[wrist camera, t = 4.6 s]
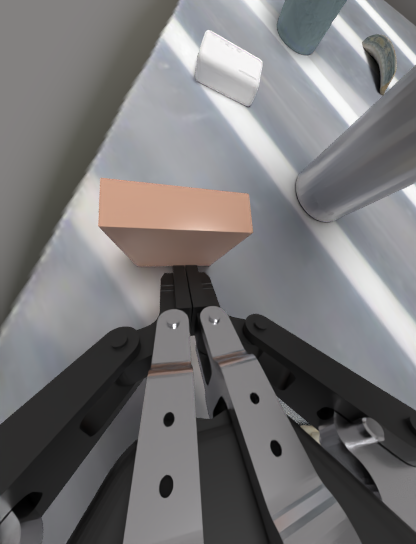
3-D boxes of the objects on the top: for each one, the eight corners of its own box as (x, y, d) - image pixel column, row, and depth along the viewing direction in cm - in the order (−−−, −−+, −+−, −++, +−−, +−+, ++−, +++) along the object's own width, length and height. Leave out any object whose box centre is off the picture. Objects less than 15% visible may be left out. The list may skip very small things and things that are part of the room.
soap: (193, 83, 23) (196, 52, 20) (201, 57, 24) (206, 24, 21) (249, 111, 25) (260, 86, 22) (254, 85, 26) (265, 59, 23)
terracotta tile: (210, 265, 19) (252, 232, 9) (137, 266, 17) (98, 226, 7) (208, 244, 19) (248, 193, 10) (137, 243, 17) (100, 176, 8)
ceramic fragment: (359, 44, 36) (381, 15, 33) (375, 50, 38) (398, 23, 34) (373, 97, 35) (398, 73, 31) (389, 101, 36) (415, 79, 32)
